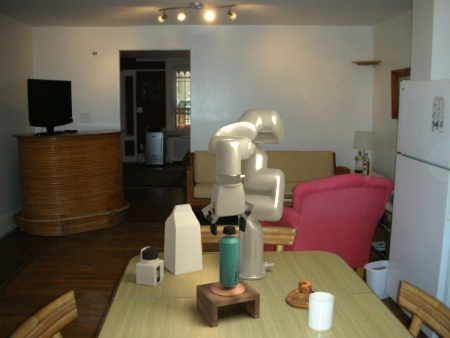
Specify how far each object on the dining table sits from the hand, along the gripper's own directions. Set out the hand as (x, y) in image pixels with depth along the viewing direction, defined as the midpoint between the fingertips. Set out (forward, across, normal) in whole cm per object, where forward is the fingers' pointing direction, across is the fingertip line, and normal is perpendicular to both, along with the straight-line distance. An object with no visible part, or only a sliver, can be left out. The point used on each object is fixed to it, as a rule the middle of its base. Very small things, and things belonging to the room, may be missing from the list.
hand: (228, 232), depth 150 cm
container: (+27, +17, -34) cm, 47 cm away
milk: (+28, +1, -43) cm, 51 cm away
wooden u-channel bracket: (+27, +1, +1) cm, 27 cm away
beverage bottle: (+18, 0, 0) cm, 18 cm away
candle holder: (+27, -27, +3) cm, 38 cm away
